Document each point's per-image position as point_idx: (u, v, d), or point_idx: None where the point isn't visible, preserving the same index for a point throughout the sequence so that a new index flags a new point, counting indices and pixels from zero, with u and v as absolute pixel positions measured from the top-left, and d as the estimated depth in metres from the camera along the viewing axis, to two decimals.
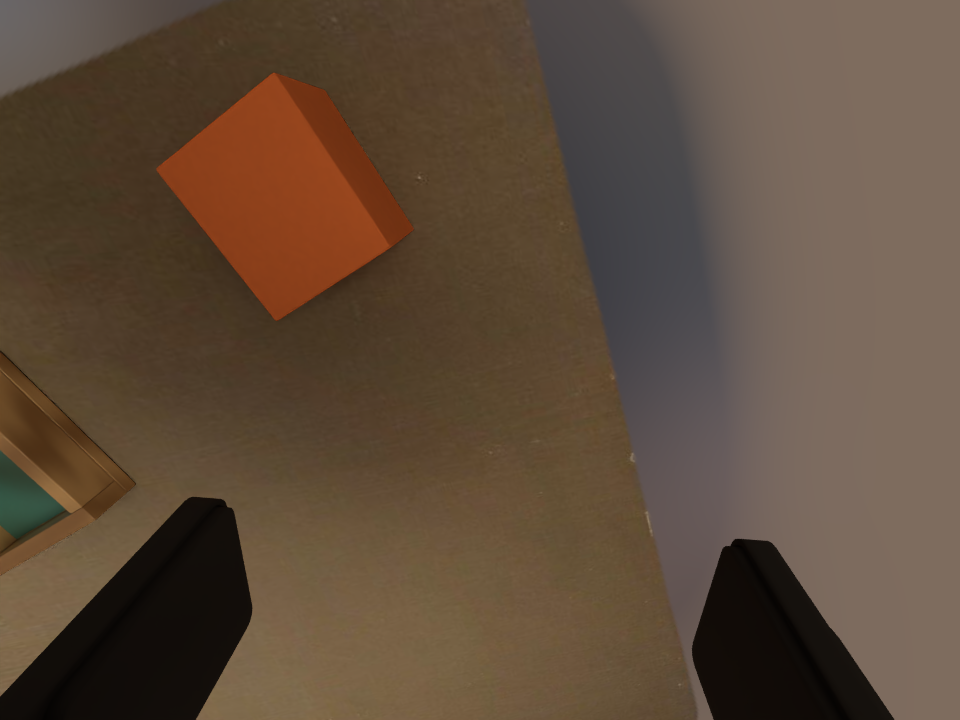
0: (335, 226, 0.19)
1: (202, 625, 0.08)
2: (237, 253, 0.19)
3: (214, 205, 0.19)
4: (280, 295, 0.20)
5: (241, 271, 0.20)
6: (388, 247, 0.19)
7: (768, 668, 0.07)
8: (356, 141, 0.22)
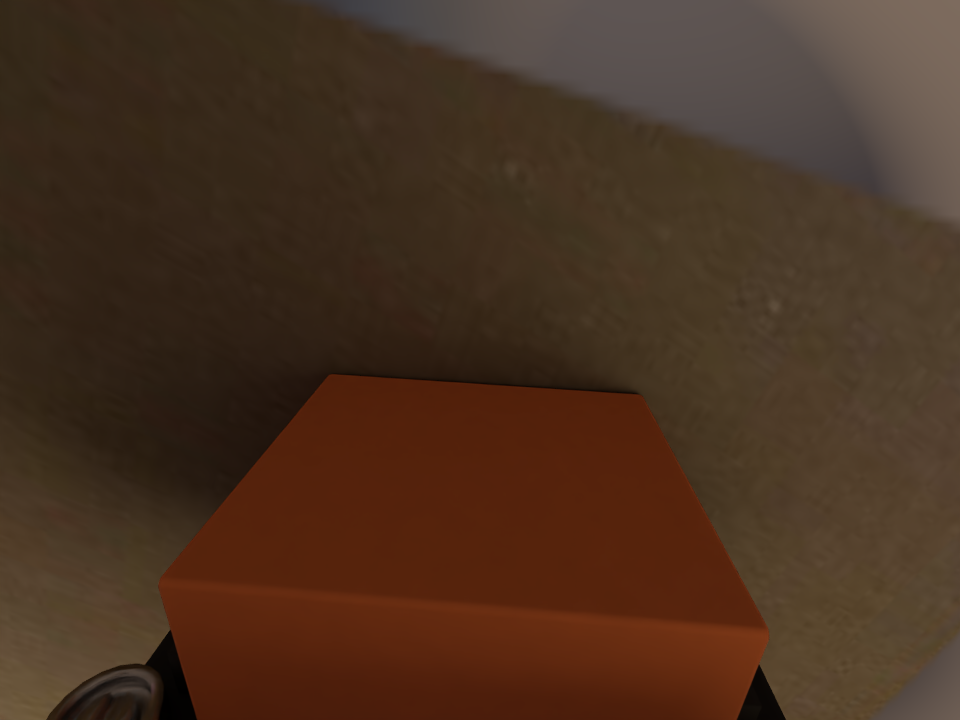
0: None
1: None
2: None
3: None
4: None
5: None
6: None
7: None
8: None
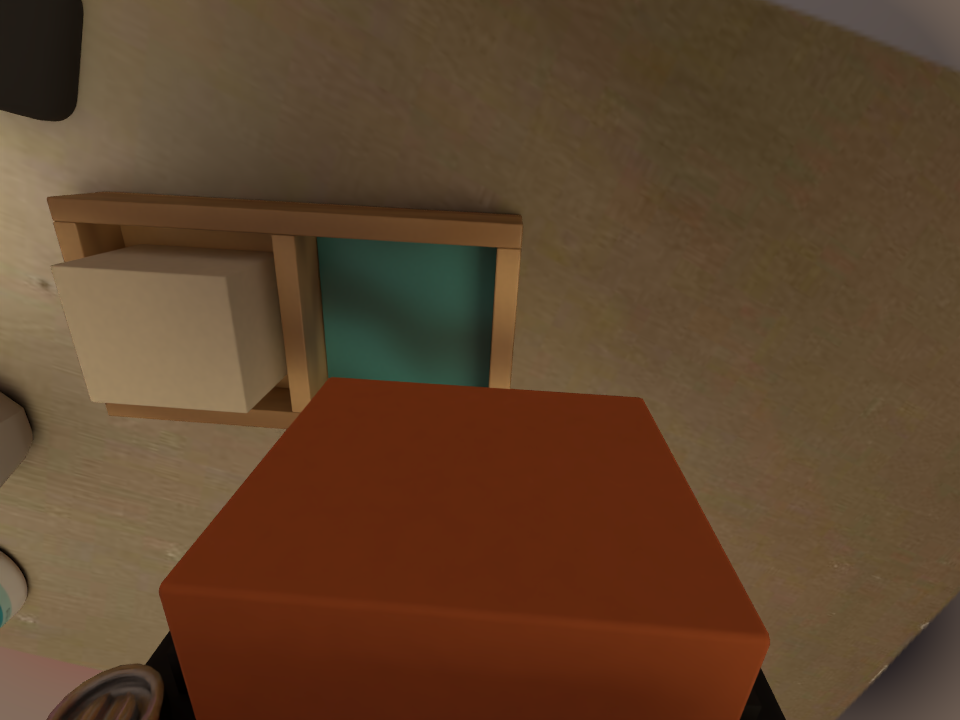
0: None
1: None
2: None
3: None
4: None
5: None
6: None
7: None
8: None
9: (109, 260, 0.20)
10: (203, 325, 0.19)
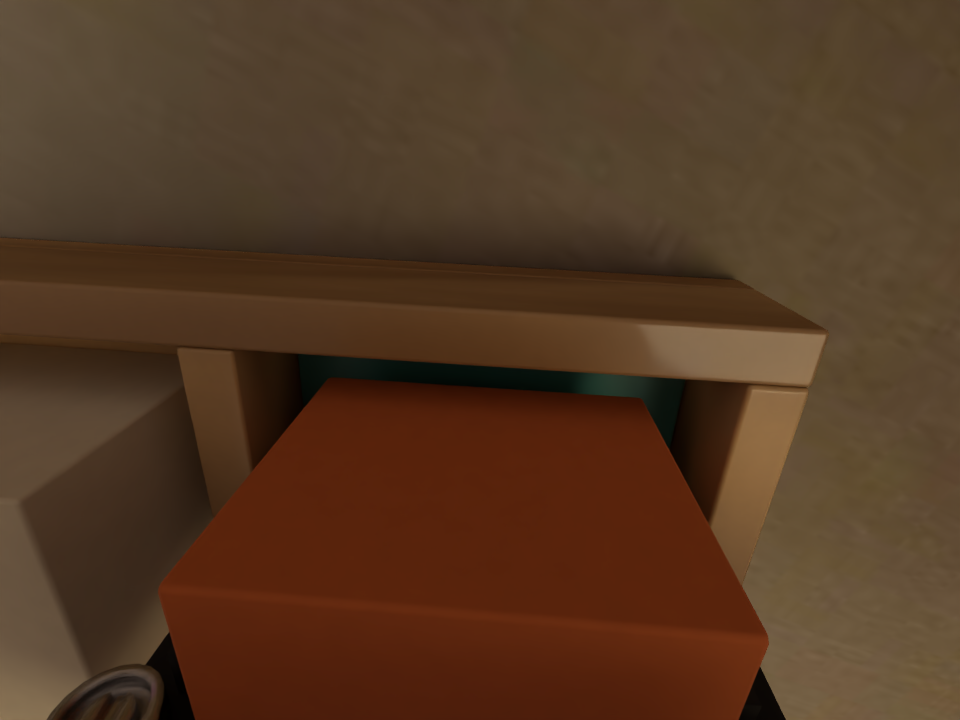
0: None
1: None
2: None
3: None
4: None
5: None
6: None
7: None
8: None
9: None
10: None
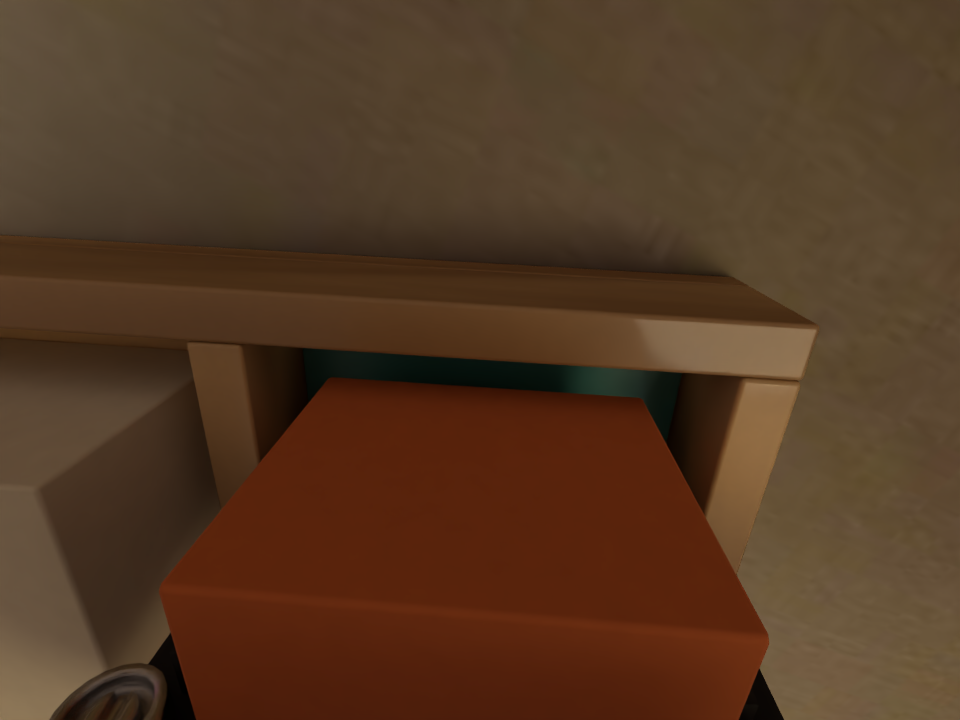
0: None
1: None
2: None
3: None
4: None
5: None
6: None
7: None
8: None
9: None
10: (0, 592, 0.08)
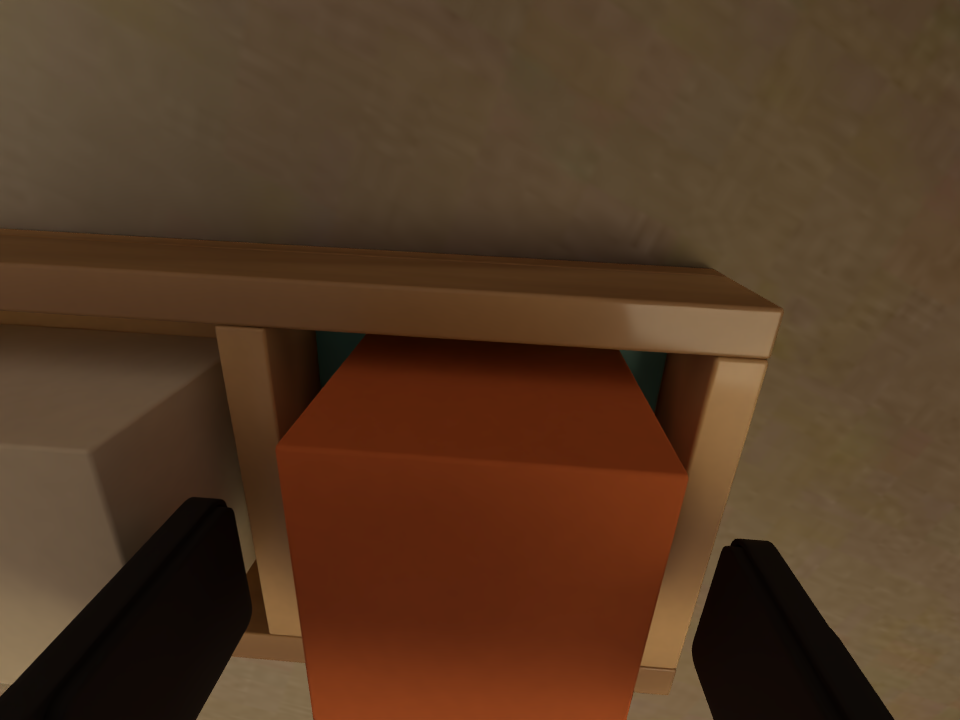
0: (553, 707, 0.09)
1: (202, 625, 0.08)
2: (331, 641, 0.09)
3: (353, 565, 0.08)
4: None
5: (313, 663, 0.09)
6: None
7: (768, 668, 0.07)
8: None
9: None
10: (51, 548, 0.08)
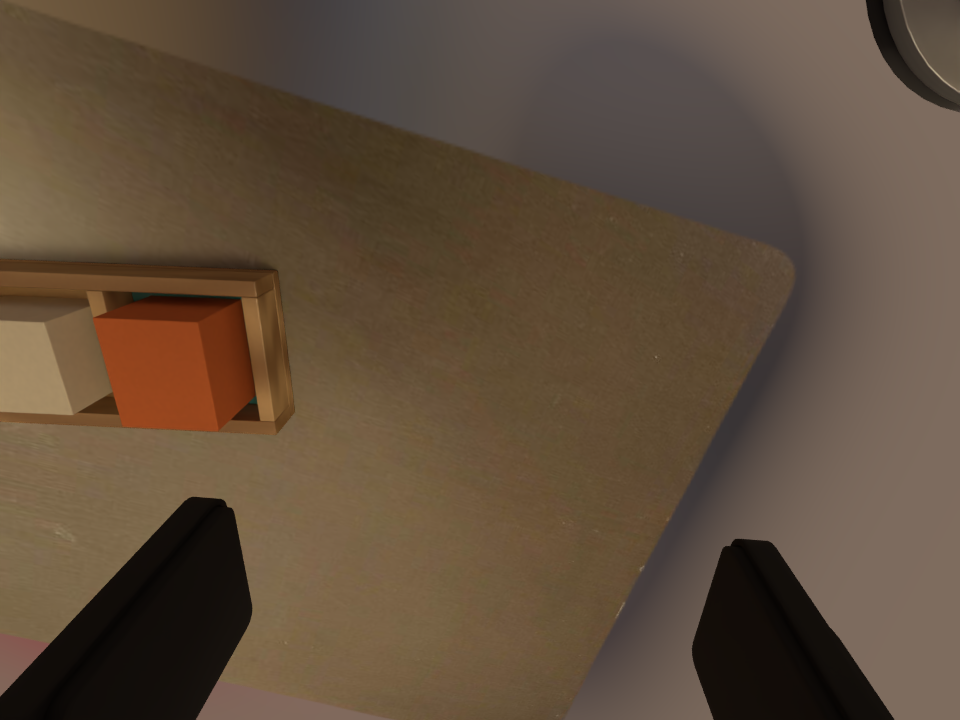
0: (190, 405, 0.29)
1: (202, 625, 0.08)
2: (119, 383, 0.29)
3: (119, 354, 0.28)
4: (134, 416, 0.29)
5: (115, 392, 0.29)
6: (217, 430, 0.30)
7: (768, 668, 0.07)
8: (245, 335, 0.32)
9: None
10: (33, 355, 0.28)
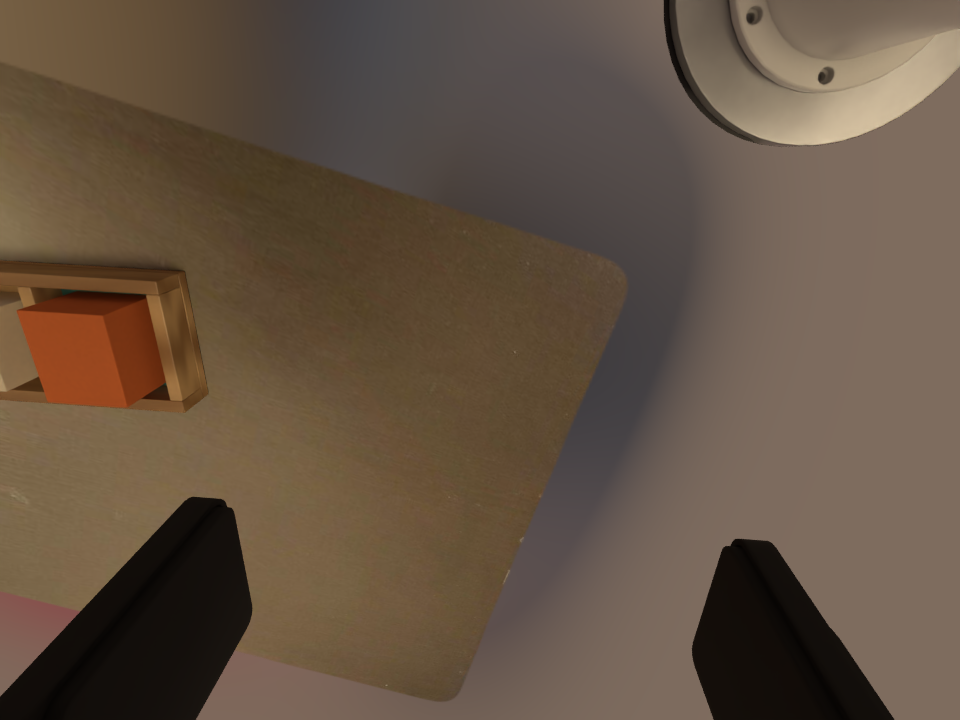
0: (102, 385, 0.34)
1: (202, 625, 0.08)
2: (42, 365, 0.34)
3: (40, 341, 0.33)
4: (56, 393, 0.35)
5: (39, 373, 0.34)
6: (126, 407, 0.35)
7: (768, 668, 0.07)
8: None
9: None
10: None
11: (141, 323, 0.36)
